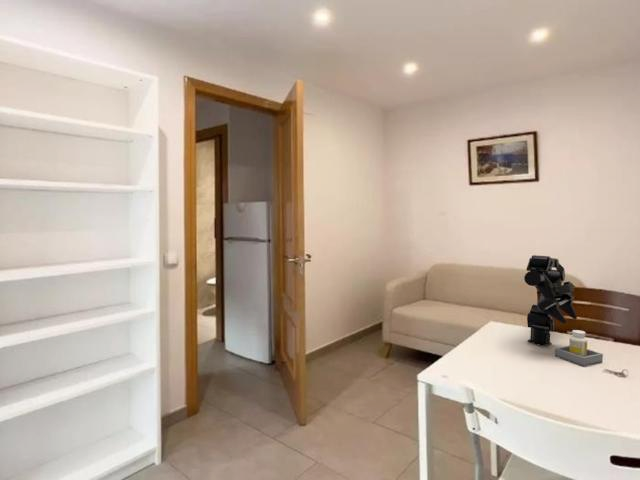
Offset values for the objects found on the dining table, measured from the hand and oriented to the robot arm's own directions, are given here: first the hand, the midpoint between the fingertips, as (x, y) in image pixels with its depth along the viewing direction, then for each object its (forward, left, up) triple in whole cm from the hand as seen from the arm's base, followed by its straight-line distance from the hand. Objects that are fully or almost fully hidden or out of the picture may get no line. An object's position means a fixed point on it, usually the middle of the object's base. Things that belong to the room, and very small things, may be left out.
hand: (570, 320), depth 145 cm
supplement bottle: (+4, -1, -13) cm, 14 cm away
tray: (+4, -1, -13) cm, 14 cm away
